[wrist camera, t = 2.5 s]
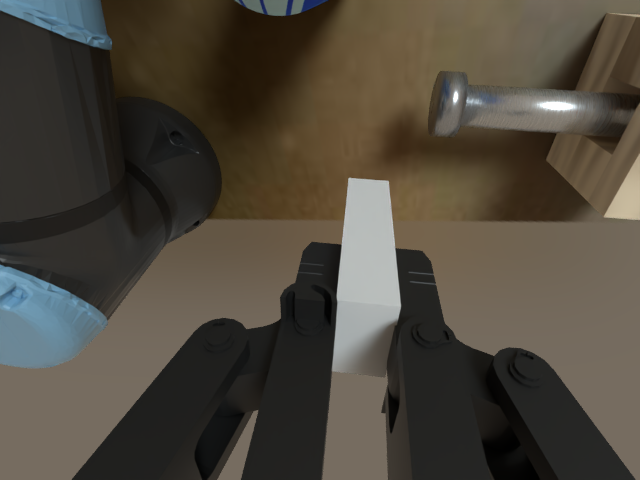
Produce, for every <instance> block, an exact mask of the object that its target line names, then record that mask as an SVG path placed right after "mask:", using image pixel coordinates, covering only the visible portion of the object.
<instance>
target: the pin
mask: <svg viewBox="0 0 640 480" xmlns="http://www.w3.org/2000/svg"><path fill="white" fill-rule="evenodd" d="M639 103H640V94H626V93H609V92H591V91H573V90H555V89H538V88H520V87H502V86H485V85H468V79H467V75H466V73H465V72H451V71H440V72H439V74H438V76H437V78H436V81H435V84H434V87H433V91H432V96H431V101H430V107H429V117H428V131H429V135H430V136H438V137H454V136H455V135H456V134H457V132H458V130H459V128H460V127H467V128H482V129H498V130H514V131H529V132H545V133H560V134H576V135H591V136H607V137H622V135H623V133H624V131H625V130H626V128H627V126H628V124H629V122H630V120H631V118H632V116H633V114H634V112H635V110H636V108H637V107H638V105H639Z"/></svg>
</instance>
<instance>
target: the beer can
mask: <svg viewBox="0 0 640 480" xmlns="http://www.w3.org/2000/svg"><path fill="white" fill-rule="evenodd" d="M235 1H236V2H238V3H239V4H241V5H243V6H244V7H246V8H248V9H251V10H253V11H256V12H259V13H262V14H266V15H273V16H287V15H293V14H298V13H301V12H304V11H307V10H309V9H311V8H313V7H315V6H317V5H320V4H322V3H324V2H326V1H328V0H235Z"/></svg>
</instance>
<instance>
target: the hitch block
mask: <svg viewBox="0 0 640 480" xmlns="http://www.w3.org/2000/svg"><path fill="white" fill-rule="evenodd" d="M575 91H591V92H609V93H626V94H640V14H616V13H607V14H606V16H605V19H604V21H603V23H602V26H601V28H600V31H599V33H598V36H597V38H596V40H595V43H594V45H593V48H592V50H591V52H590V55H589V57H588V60H587V62H586V64H585V67H584V69H583V72H582V74H581V76H580V79H579V81H578V84H577V86H576V89H575ZM546 161H547V162H548V163H549V164H550V165H551V166H552V167H553V168H554V169H555V170H557V171H558V172H559V173H560V174H561V175H562V176H563V177H564V178H565V179H566V180H567V181H568V182H569V183H570V184H571V185H572V186H573V187H574V188H575V189H576V190H577V191H578V192H579V193H580V194H581V195H582V196H583V197H584V198H585V199H586V200H587V201H588V202H589V203H590V204H591V205H592V206H593V207H594V208H595V209H596V210H597V211H598V212H599V213H600V214H601V215H602V216H603V217H609V218H622V219H634V220H640V103H639V105H638V107H637V108H636V110H635V112H634V114H633V116H632V118H631V120H630V122H629V124H628V126H627V128H626V130H625V131H624V133H623V135H622V137H607V136H591V135H576V134H560V133H557V134H556V137H555V139H554V142H553V144H552V146H551V149H550V151H549V154H548V156H547V158H546Z"/></svg>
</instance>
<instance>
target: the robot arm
mask: <svg viewBox="0 0 640 480" xmlns="http://www.w3.org/2000/svg"><path fill="white" fill-rule="evenodd" d="M111 49H112V40H111V38H110V37H109V36H108V35H107V32H106V27H105V21H104V16H103V11H102V5H101V0H0V364H4V365H9V366H15V367H22V368H45V367H52V366H55V365H58V364H61V363H64V362H67V361H70V360H71V359H73V358H74V357H76V356H77V355H78V354H79V353H80V352H81V351H82V350H83V349H84V348H85V347H86V346H87V345H88V344H89V343H90V342H91V341H92V340H93V339H94V338H95V337H96V336H97V335H98V334H99V333H100V332H101V331H102V330H104V328H105V327H106V326H107V324H108V319H109V318H110V317H111V316H112V314H113V313H114V312H115V310H116V309H117V308H118V306H119V305H120V303H122V301H123V300H124V299H125V297H126V296H127V295H128V293H129V292H130V291H131V289H132V288H133V287H134V285H135V284H136V283H137V281H138V280H139V279H140V277H141V276H142V275H143V274H144V272H145V271H146V270H147V268H148V267H149V266H150V264H151V263H152V262H153V260H154V259H155V258H156V256H157V255H158V254H159V252H160V251H161V250H162V249H163V247H164V246H165V245H166V244H167V243H169V242H171V241H173V240H175V239H177V238H179V237H181V236H182V235H184V234H186V233H188V232H190V231H192V230H194V229H195V228H197V227H198V226H199V225H201V224H202V223H203V222H204V221H205V220H206V219H207V217H208V216H209V214H210V213H211V211H212V210H213V209H214V207H215V205H216V204H217V202H218V199H219V196H220V192H221V184H222V182H221V171H220V167H219V163H218V160H217V157H216V155H215V153H214V151H213V149H212V147H211V145H210V144H209V142H208V141H207V139H206V138H205V136H204V135H203V134H202V133H201V131H200V130H199V129H198V128H197V127H196V126H195V125H194V124H193V123H192V122H191V121H190V120H188V119H187V118H186V117H185V116H183V115H182V114H181V113H179V112H177V111H176V110H174V109H172V108H171V107H169V106H167V105H165V104H162V103H160V102H157V101H154V100H151V99H147V98H141V97H123V98H118V99H116V97H115V90H114V82H113V75H112V68H111V60H110V52H109V50H111ZM435 283H436V282H435V278H434V275H433V269H432V264H431V261H430V260H429V259H428V257H427V256H426V255H425V254H424V253H423V251H419V250H407V249H397V248H395V241H394V231H393V221H392V211H391V201H390V191H389V181H382V180H369V179H356V178H349V181H348V191H347V201H346V210H345V220H344V230H343V239H342V245H339V244H329V243H318V242H311V243H310V244H309V245H308V246H307V247H306V249H305V250H304V251H303V254H302V258H301V262H300V266H299V270H298V274H297V278H296V282H295V283H294V284H292V285H290V286H289V287H287V288H286V289H285V290H284V292H283V293H282V295H281V297H280V302H281V319H280V320H279V321H277V322H275V323H273V324H271V325H267V326H264V327H258V328H252V329H246V328H245V327H244V326H243V324H241V323H240V322H238V321H236V320H234V319H227V318H221V319H215V320H211V321H209V322H207V323H205V324H203V325H201V326H200V327H199V328H198V329H197V330H196V331H195V332H194V333H193V334H192V335H191V337H190V338H189V339H188V340H187V341H186V343H185V344H184V345H183V346H182V347H181V348H180V350H179V351H178V352H177V353H176V355H175V356H174V357H173V358H172V359H171V360H170V362H169V363H168V364H167V365H166V367H165V368H164V369H163V370H162V371H161V373H160V374H159V375H158V376H157V377H156V379H155V380H154V381H153V382H152V384H151V385H150V386H149V387H148V388H147V389H146V391H145V392H144V393H143V394H142V395H141V397H140V398H139V399H138V400H137V401H136V403H135V404H134V405H133V406H132V408H131V409H130V410H129V411H128V412H127V414H126V415H125V416H124V417H123V418H122V420H121V421H120V422H119V423H118V424H117V426H116V427H115V428H114V429H113V430H112V432H111V433H110V434H109V435H108V436H107V438H106V439H105V440H104V441H103V442H102V444H101V445H100V446H99V447H98V448H97V450H96V451H95V452H94V453H93V455H92V456H91V457H90V458H89V459H88V461H87V462H86V463H85V464H84V465H83V467H82V468H81V469H80V470H79V471H78V473H77V474H76V475H75V476H74V478H73V479H72V480H217V479H218V477H219V475H220V473H221V471H222V469H223V468H224V466H225V464H226V462H227V460H228V458H229V456H230V454H231V453H232V451H233V449H234V447H235V445H236V443H237V441H238V439H239V437H240V436H241V434H242V432H243V430H244V428H245V426H246V424H247V423H248V421H249V419H250V417H251V415H252V413H253V411H255V410H259V411H258V416H257V419H256V423H255V427H254V431H253V435H252V439H251V442H250V447H249V451H248V454H247V458H246V462H245V466H244V470H243V474H242V478H241V480H322V475H323V464H324V453H325V442H326V432H327V420H328V410H329V398H330V388H331V376H332V371H334V372H343V373H352V374H360V375H369V376H378V377H385V375H386V370H387V376H388V385H387V389H386V394H385V398H384V402H383V406H382V413H386V434H387V460H388V461H387V462H388V480H635V478H634V477H633V476H632V474H631V473H630V472H629V470H628V469H627V468H626V466H625V465H624V463H623V462H622V461H621V459H620V458H619V457H618V455H617V454H616V453H615V451H614V450H613V449H612V447H611V446H610V445H609V443H608V442H607V441H606V439H605V438H604V437H603V435H602V434H601V433H600V431H599V430H598V429H597V427H596V426H595V425H594V423H593V422H592V421H591V419H590V418H589V417H588V415H587V414H586V413H585V411H584V410H583V408H582V407H581V406H580V404H579V403H578V402H577V400H576V399H575V398H574V396H573V395H572V394H571V392H570V391H569V390H568V388H567V387H566V386H565V384H564V383H563V382H562V380H561V379H560V378H559V376H558V375H557V374H556V372H555V371H554V370H553V369H552V368H551V367H550V365H549V364H548V363H547V362H546V361H545V360H543V359H542V358H540V357H539V356H537V355H535V354H534V353H532V352H529V351H526V350H523V349H521V348H506V349H502V350H500V351H499V352H498V353H497V354H496V355H495V356H493V355H490V354H487V353H484V352H482V351H479V350H476V349H473V348H471V347H469V346H467V345H465V344H463V343H462V342H460V341H459V340H457V339H456V337H455V335H454V333H453V331H452V330H451V329H450V328H449V327H448V326H447V325H446V324H445V322H444V318H443V314H442V309H441V305H440V300H439V296H438V291H437V287H436V285H435Z"/></svg>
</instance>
